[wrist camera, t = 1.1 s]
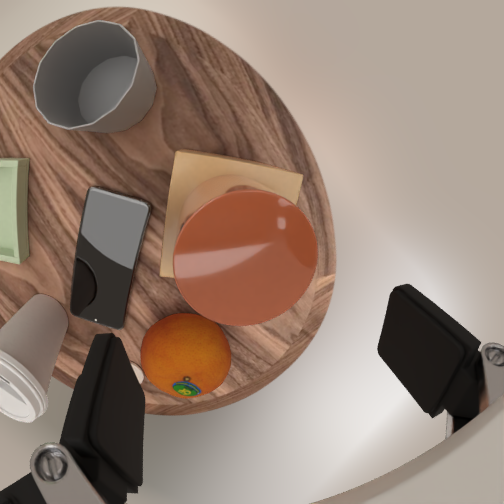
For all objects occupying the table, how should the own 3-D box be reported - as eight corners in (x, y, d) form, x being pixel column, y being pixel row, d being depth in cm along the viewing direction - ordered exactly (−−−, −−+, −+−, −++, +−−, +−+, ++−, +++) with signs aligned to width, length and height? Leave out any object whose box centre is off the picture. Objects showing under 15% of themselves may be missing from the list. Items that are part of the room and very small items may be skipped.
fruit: (153, 290, 31) (145, 332, 24) (237, 311, 34) (250, 354, 27) (138, 356, 34) (132, 400, 27) (211, 371, 37) (218, 415, 30)
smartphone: (152, 203, 26) (123, 332, 31) (154, 201, 27) (124, 327, 32) (87, 184, 24) (68, 314, 28) (90, 183, 25) (71, 310, 29)
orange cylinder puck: (186, 166, 16) (183, 177, 10) (289, 184, 17) (334, 205, 12) (172, 266, 18) (167, 320, 12) (267, 277, 19) (296, 328, 14)
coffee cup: (92, 327, 31) (60, 419, 17) (52, 352, 31) (20, 432, 17) (45, 269, 27) (-18, 345, 13) (10, 302, 27) (-42, 373, 13)
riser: (182, 148, 26) (175, 150, 15) (260, 162, 28) (304, 175, 17) (170, 225, 29) (159, 276, 18) (244, 235, 31) (275, 288, 20)
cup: (122, 147, 25) (88, 150, 16) (66, 110, 22) (16, 101, 12) (173, 79, 23) (164, 47, 14) (113, 44, 20) (83, 7, 11)
